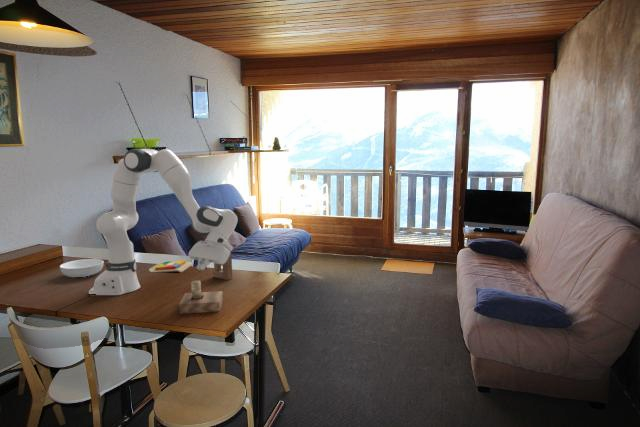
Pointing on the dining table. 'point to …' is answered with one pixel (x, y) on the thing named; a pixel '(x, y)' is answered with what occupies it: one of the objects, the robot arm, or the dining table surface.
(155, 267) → the wooden puzzle
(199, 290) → the peg
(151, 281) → the dining table surface
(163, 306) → the dining table surface
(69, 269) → the serving bowl
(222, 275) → the wooden block
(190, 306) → the board
